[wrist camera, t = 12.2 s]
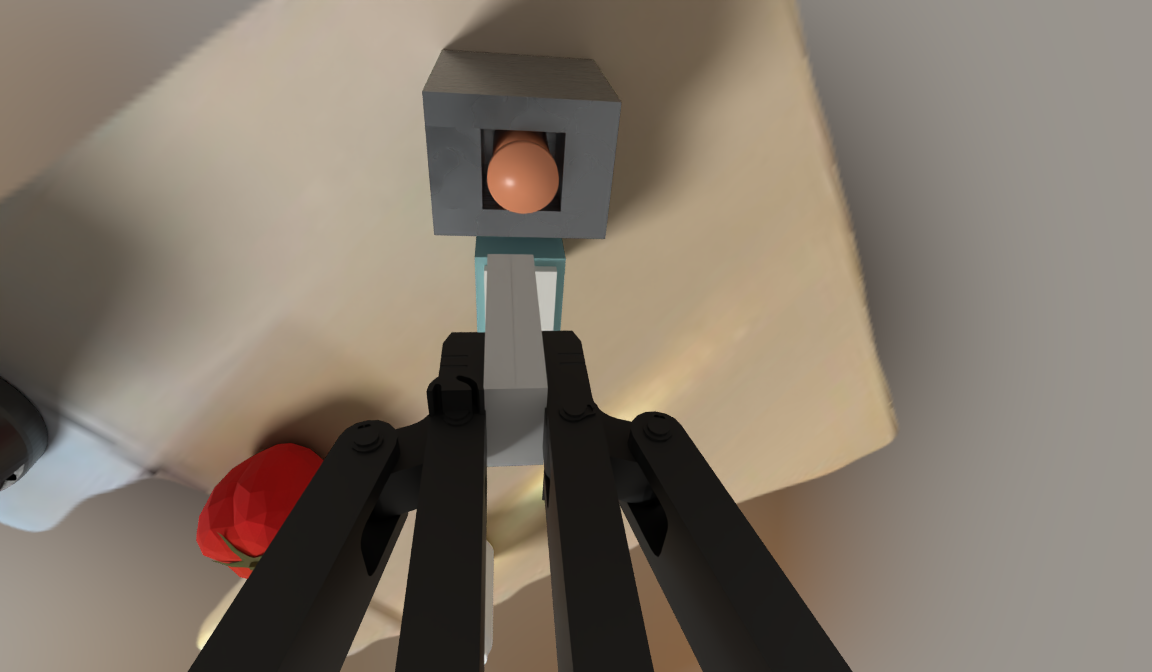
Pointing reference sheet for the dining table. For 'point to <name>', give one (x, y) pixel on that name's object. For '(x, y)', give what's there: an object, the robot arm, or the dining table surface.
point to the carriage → (546, 269)
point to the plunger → (522, 171)
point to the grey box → (525, 103)
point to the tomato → (254, 505)
